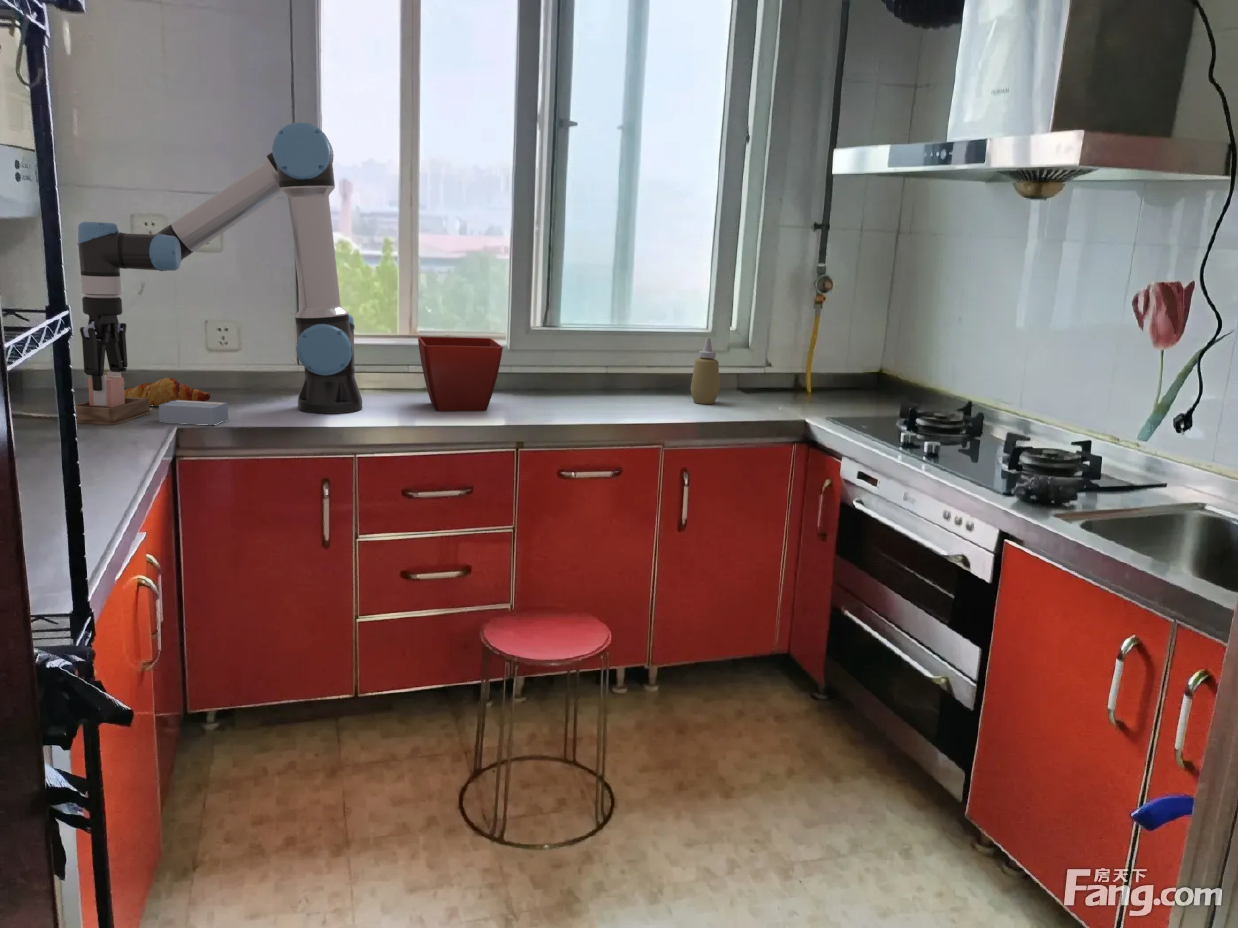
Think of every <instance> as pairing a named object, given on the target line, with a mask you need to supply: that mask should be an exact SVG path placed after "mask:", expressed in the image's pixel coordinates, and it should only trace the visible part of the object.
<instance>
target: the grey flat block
mask: <svg viewBox="0 0 1238 928" xmlns="http://www.w3.org/2000/svg"><path fill="white" fill-rule="evenodd" d="M228 404H229V403H228V402H221V401H220V402H217V401H205V402H203V401H186V400H173V401H170V402H166V403H162V404H160V405H159V407H158V416H159V423H160V422H166V423H187V424H208V425H214V424H217V423H219V422H221V421H226V420H228V421H229V405H228ZM226 422H227V421H226ZM166 423H165V424H166Z"/></svg>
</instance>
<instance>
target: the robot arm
mask: <svg viewBox="0 0 1238 928" xmlns="http://www.w3.org/2000/svg"><path fill="white" fill-rule="evenodd" d="M271 149H272V151H271V152H269V154H267V155H265V157H264V163H262V164H261V165H259V166H257V167H256V168H255V169H253V170H251V171H250V172H249V173H246V174H245V175H244V176H242V177H241V178H239V179H237V180H236V181H234V182H233V183H231V184H230V185H229V186H227V187H226V188H224V189H222V190H221V191H219V192H218V193H216V194H215V195H213V196H212V197H210V198H209V199H207V200H206V201H204V202H202V203H201V204H200V205H198V206H197V207H194V208H193V209H192V210H190V211H189V212H187V213H186V214H184V215H183V216H181V217H180V218H178V219H177V220H175V221H173V222H172V223H171V224H169V225H167V226H165V227H164V228H162V229H161V230H160V231H158V232H157V233H151V234H149V233H126V232H119V229H118V224H116V223H114V222H104V221H103V222H102V221H81V222H80V223H79V224H78V227H77V234H78V235H77V236H78V239H77V245H78V257H79V258H78V259H79V268H80V283H81V293H82V294H83V295H85V296H82V298H81V301H82V313H83V314H85V315H88V322H87V326H86V327H85V326H81V327H79V333H80V336H81V340H82V341H81V342H82V356H83V372H84V374H86V376H91V378H92V385H93V397H94V405H100V406H108V397H107V382H106V376H104V375H105V373H104V372H105V371H104V370H105V361H106V360H105V359H107V363H108V366H109V367H108V368H109V370H110V371H106V372H107V374H106V375H109V376H121V377H122V372H123V373H124V372H127V368H128V354H127V351H128V350H127V349H128V348H127V338H126V337H127V335H126V332H127V323H125V322H119V320H118V316H121V315H123V301H122V300H123V299H122V298H121V297H119V296H121V295H122V282H121V269H125V270H128V269H130V270H145V271H159V272H167V271H168V272H169V271H175V272H176V271H178V269H180V267H181V263H182V261H183V260H184V259H186V258H188V257H189V256H190V255H192V254H193V253H194V252H196V251H198V250H199V249H200V248H202V247H203V246H205V245H206V244H208V243H209V242H211V241H213V240H214V239H216V238H217V237H219V236H220V235H222V234H223V233H225V232H226V231H228V230H229V229H231V228H233V227H234V226H236V225H237V224H239V223H241V222H242V221H243V220H245V219H246V218H248V217H249V216H251V215H253V214H254V213H256V212H257V211H259V210H260V209H262V208H263V207H265V206H267V205H268V204H270V203H271V202H273V201H274V200H275V199H277V198H279V197H280V196H282V195H283V194H284V195H286V197H287V200H288V202H287V203H288V209H289V210H288V211H289V217H290V225H291V235H292V242H293V252H294V258H295V260H294V261H295V269H296V276H297V277H296V278H297V284H298V293H299V301H300V309H299V310H298V311H297V313H296V314H295V316H294V321H295V328H296V338H297V341H296V346H295V348H296V351H295V352H296V355H297V357H298V360H299V361H300V363H301V364H302V366H303V367H304V377H303V381H302V385H301V388H300V392H299V395H298V398H297V409H298V410H299V411H303V412H308V413H315V414H316V413H318V414H341V413H343V414H345V413H352V412H358V411H360V410H362V409H363V397H362V395H361V393H360V392H361V391H360V389H359V386H358V383H357V379H356V377H355V376H356V374H355V372H356V371H355V323H354V322H355V321H354V317H353V316H352V315H351V314H349V311H348V310H346V309H345V308H344V307H343V306H342V305H341V298H340V289H339V286H340V285H339V278H338V277H339V276H338V270H337V269H338V268H337V261H336V252H335V251H336V250H335V241H334V235H333V233H334V232H333V231H334V230H333V225H332V223H333V221H332V214H331V205H330V204H331V203H330V194H331V193H333V192H334V190H335V188H336V186H335V185H336V183H335V176H334V175H335V174H334V167H333V166H334V164H333V163H334V150H333V147H332V144H331V143H330V140H329V139H328V137H327V135H326V134H325V132H323V131H322V130H321V129H320V127H317V126H316V125H314V124H312V123H309V122H302V121H301V122H300V121H299V122H291V123H288V124H286V125H285V126H283V127H282V128H280V130H278V131H277V133H276V134H275V136H274V139H273V143H272V147H271ZM106 357H107V358H106Z"/></svg>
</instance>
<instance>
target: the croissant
mask: <svg viewBox="0 0 1238 928" xmlns="http://www.w3.org/2000/svg"><path fill="white" fill-rule="evenodd" d="M124 394H125V398H142V399H149V405H153V406H159V405H160V404H162V403H166V402H170V401H173V400H186V401H203V402H209V400H211V393H210V392H208V391H205V392H204V391H202V390H200V389H198V388H191V387H189V385H187V384H184V383H180V382H179V381H177V379H175V378H172V377H164V378H161V379H159V380H156V381H155V382H147V383H145V382H143V383H140V384H139V385H138V386H135V387H129V388H126V389H124Z"/></svg>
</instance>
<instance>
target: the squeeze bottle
mask: <svg viewBox="0 0 1238 928" xmlns="http://www.w3.org/2000/svg"><path fill="white" fill-rule="evenodd" d="M711 340H712V339H711V338H705V342H704V346H703V348H702V350H699V351H698V357H699V358H697V359H695V360H694V364H693V372H692V377H691V384H690V392H691V397H692V400H693V401H692V402H694V403H696V404H700V405H712V404H715V403H716V400H717V398H718V395H719V392H720V371H719V370H720V369H719V363H720V362H719V361H718V359H716V355H717V354H716V353H717V352H716V351H713V346H712V341H711Z"/></svg>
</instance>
